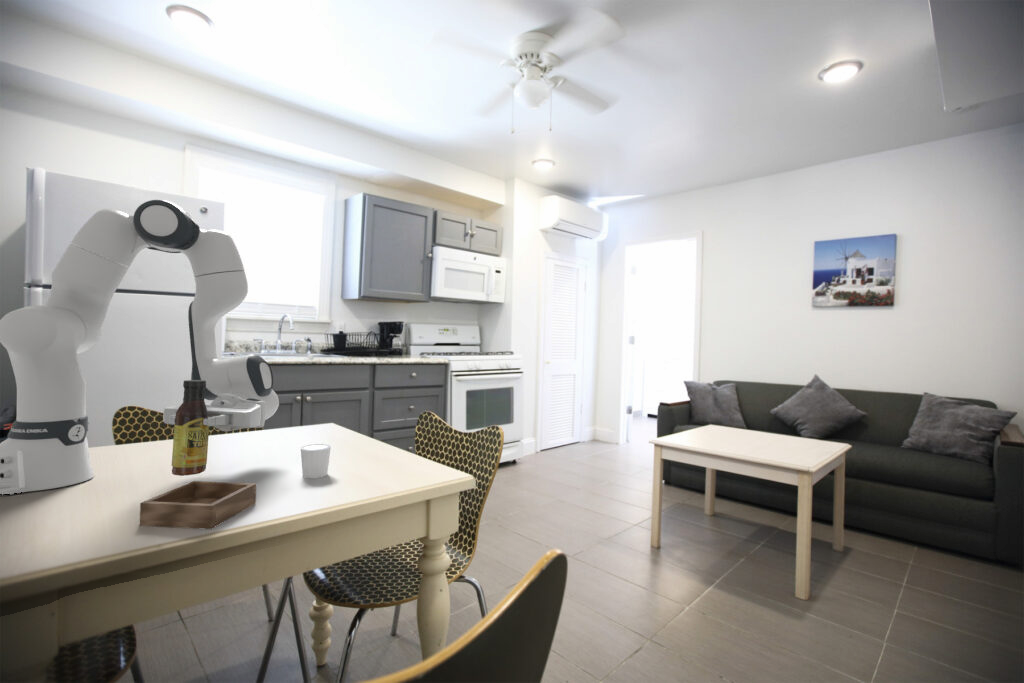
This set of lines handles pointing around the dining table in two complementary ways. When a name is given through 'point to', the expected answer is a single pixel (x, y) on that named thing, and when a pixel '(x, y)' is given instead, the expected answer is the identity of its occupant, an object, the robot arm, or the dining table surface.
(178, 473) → the sauce bottle
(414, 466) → the dining table surface
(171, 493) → the brown wooden tray
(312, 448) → the white cup
